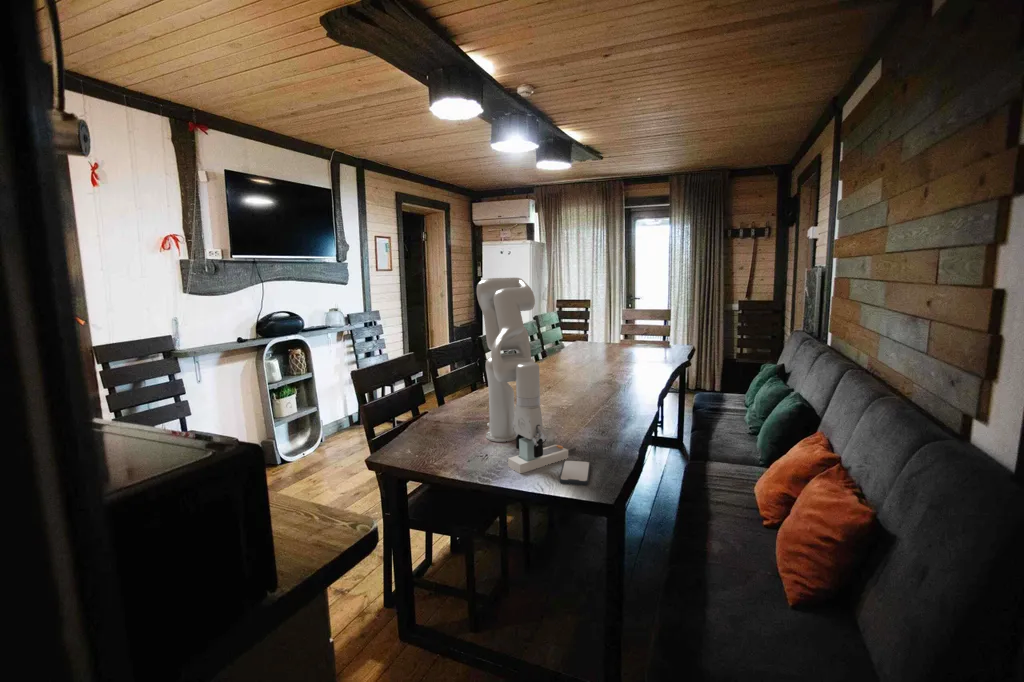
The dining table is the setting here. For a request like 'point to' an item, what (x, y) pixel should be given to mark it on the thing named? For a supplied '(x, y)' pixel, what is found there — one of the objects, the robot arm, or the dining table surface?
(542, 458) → the power strip
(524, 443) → the block
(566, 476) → the smartphone
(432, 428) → the dining table surface
